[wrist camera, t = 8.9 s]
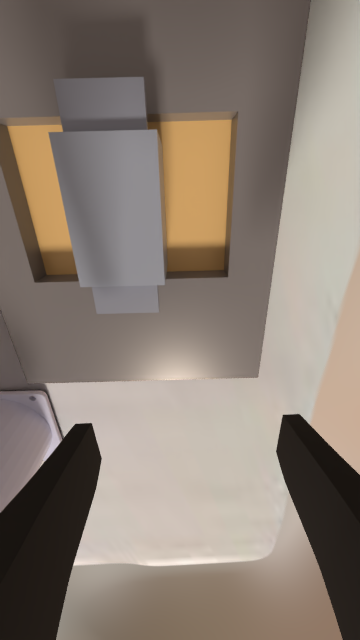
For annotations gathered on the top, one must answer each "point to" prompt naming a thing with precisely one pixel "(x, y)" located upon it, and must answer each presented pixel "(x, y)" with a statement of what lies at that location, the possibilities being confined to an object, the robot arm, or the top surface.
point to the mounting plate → (179, 180)
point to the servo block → (112, 191)
